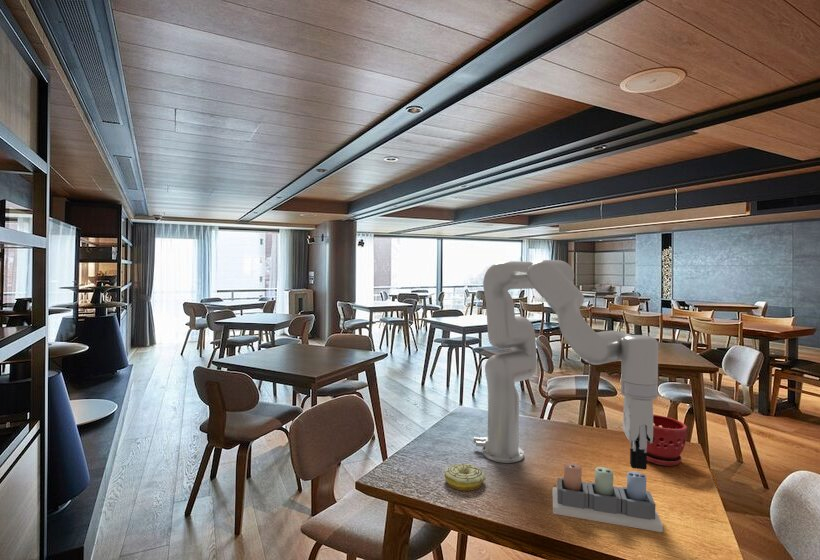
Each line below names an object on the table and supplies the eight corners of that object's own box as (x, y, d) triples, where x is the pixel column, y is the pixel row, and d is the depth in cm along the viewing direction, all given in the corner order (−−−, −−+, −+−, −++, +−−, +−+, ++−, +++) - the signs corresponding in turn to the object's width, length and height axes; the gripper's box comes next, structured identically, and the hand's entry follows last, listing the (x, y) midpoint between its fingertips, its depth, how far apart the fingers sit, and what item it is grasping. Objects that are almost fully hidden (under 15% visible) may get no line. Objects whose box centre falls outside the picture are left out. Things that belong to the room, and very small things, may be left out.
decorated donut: (492, 482, 117) (492, 469, 117) (469, 498, 109) (469, 483, 109) (460, 470, 124) (460, 457, 124) (437, 483, 116) (437, 469, 116)
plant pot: (661, 472, 123) (662, 430, 123) (626, 453, 136) (627, 415, 135) (696, 466, 127) (697, 426, 126) (659, 448, 139) (660, 411, 139)
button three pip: (628, 499, 100) (628, 477, 99) (625, 490, 103) (625, 469, 103) (647, 502, 98) (648, 479, 98) (644, 493, 102) (644, 472, 102)
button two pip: (595, 494, 102) (595, 472, 102) (593, 486, 106) (594, 465, 105) (614, 497, 100) (614, 475, 100) (611, 488, 104) (612, 467, 104)
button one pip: (563, 489, 104) (564, 468, 104) (563, 481, 108) (563, 461, 108) (581, 492, 103) (582, 470, 102) (580, 484, 106) (581, 463, 106)
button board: (552, 513, 102) (553, 492, 102) (552, 492, 111) (552, 473, 111) (662, 532, 95) (663, 510, 95) (652, 508, 104) (652, 488, 104)
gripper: (616, 380, 108) (615, 452, 109) (626, 396, 94) (625, 479, 94) (650, 382, 106) (649, 456, 106) (665, 399, 92) (664, 484, 92)
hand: (638, 467), depth 100 cm, fingers closed
